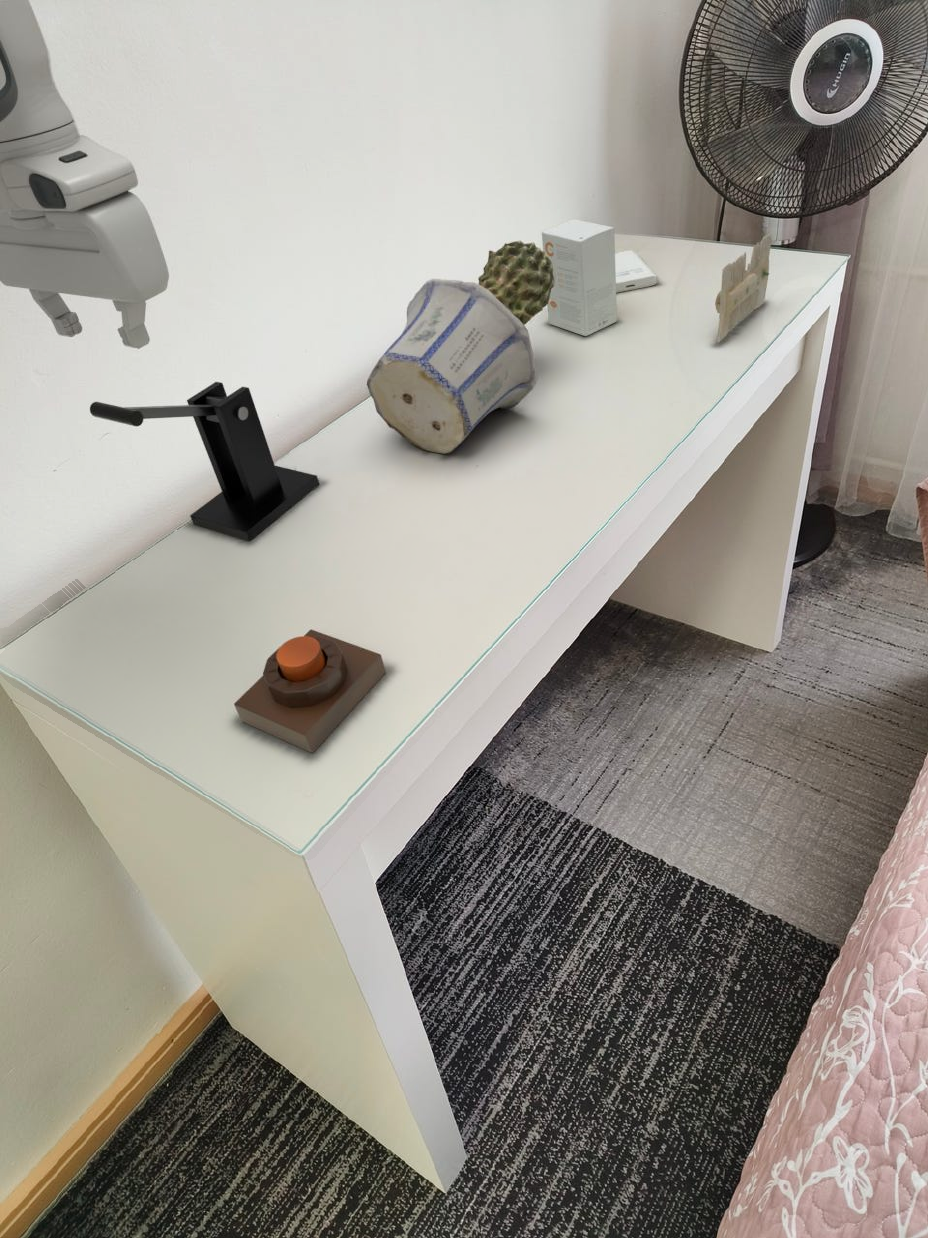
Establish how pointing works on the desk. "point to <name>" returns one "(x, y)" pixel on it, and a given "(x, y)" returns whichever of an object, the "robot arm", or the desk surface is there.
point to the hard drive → (632, 272)
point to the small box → (581, 276)
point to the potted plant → (463, 350)
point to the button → (300, 658)
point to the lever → (154, 411)
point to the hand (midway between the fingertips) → (104, 339)
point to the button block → (311, 694)
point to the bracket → (243, 468)
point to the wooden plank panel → (743, 287)
